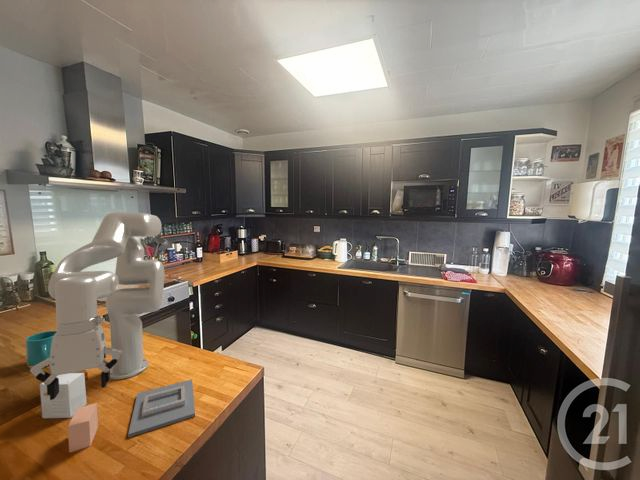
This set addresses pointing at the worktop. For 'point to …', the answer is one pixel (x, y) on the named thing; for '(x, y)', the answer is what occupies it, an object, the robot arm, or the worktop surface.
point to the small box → (64, 396)
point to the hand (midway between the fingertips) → (80, 390)
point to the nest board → (162, 407)
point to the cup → (39, 347)
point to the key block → (82, 427)
